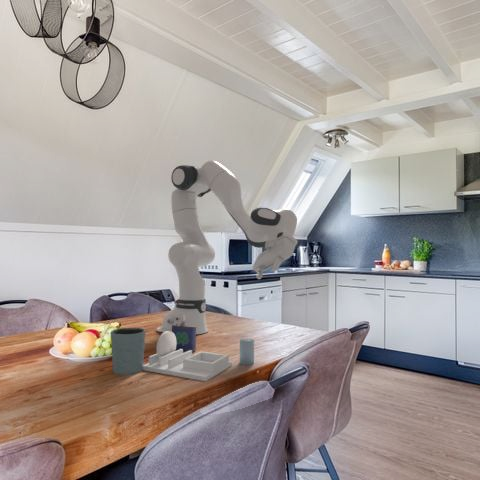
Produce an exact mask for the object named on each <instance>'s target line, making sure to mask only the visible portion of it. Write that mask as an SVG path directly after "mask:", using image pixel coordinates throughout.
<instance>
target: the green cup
mask: <svg viewBox="0 0 480 480" xmlns="http://www.w3.org/2000/svg"><path fill="white" fill-rule="evenodd" d="M145 341H146V329H145V328H142V327H122V328H116V329H113V330H111V331H110V343H111V345H110V346H111V355H112V356H111V357H112V359H111V360H112V372H113V373H114V374H116V375H118V376H119V375H122V376H128V375H134V374H135V375H136V374H138V373H141V372H143V371H144V370H143V365H144V358H145V357H144V356H145V353H144V352H145V345H146V344H145V343H146V342H145Z"/></svg>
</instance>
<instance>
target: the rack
mask: <svg viewBox="0 0 480 480" xmlns="http://www.w3.org/2000/svg"><path fill="white" fill-rule="evenodd" d="M176 343H177V342H176V336H175V334H174V333H173V332H171V331H165V332H161V334H160V336H159V337H158V339H157V342H156V346H155V347H156V348H155V350H156V353H155V354H151V355H149V356H148V363H146V364H143V370H142V371H147V372H151V373H157V374H164V375H168V376H174V377H179V378H185V379H191V380H196V381H202V382H207V381H209V380H211V379H212V378H214V377H215V376H217V375H219V374H220V373H222V372H224V371H225V370H227V369H229V368H230V367H232V364H233V363H232V361H231V360H230V361H229V359H230V357H229V356H230V355H229V354H222V353H216V352H209V351H208V352H207V351H202V350H201V351H198V352H195V353H194V354H193V352H192V350H189V351H187V352H183V349H179V350H177V351H175V350H176Z"/></svg>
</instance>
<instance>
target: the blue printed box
mask: <svg viewBox="0 0 480 480" xmlns="http://www.w3.org/2000/svg"><path fill="white" fill-rule="evenodd" d="M181 322H182V323H181V324H180V325H179V324H178V323H177V324H174V325H172V332H173V333H174V334H175V336H176V342H177V343H176V350H175V351H177V350H179V349H183V353H185V352H187V351H189V350H192V353H196V351H197V348H196V347H197V345H196V344H197V334H196V326H189V325H185V324H186V323H185V322H186V321H181Z"/></svg>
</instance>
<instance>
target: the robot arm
mask: <svg viewBox="0 0 480 480" xmlns="http://www.w3.org/2000/svg"><path fill="white" fill-rule="evenodd" d="M170 180H171V183H172V185H173V186H174V187H175V189H174V190H173V191H172V193H171V210H172V211H171V212H172V217H173V218H172V219H173V224H174V229H175V232H176V233H177V234H178V235H179V236H180V238H181V240H182V241H181V242H177V243H174V244H172V245H171V246H170V248H169V249H168V253H167V255H168V260H169V262H170V264H171V265H172V266H173V267H174V268H175V270H176V274H177V279H178V285H179V286H178V287H179V290H178V295H179V296H178V299H177V300H174V301H173V304H175V307H174V308H173V309H171V310H170V311H169V312H168V313H167V314H165V315H164V316H163V317H162V318H163V319H162V323H161V326H159V327H157V328H156V332H160V333H163V332H165V331H171V332H172V325H174V324H177V323H178V324H179V325H180V324H181V323H182V322H181V321H186V322H185V323H186V324H185V325H189V326H196V335H201V334H205V333H208V332H209V330H208V325H207V320H206V319H207V318H206V308H207V307H206V305H207V304H206V303H207V302H206V300H207V299H206V298H205V297H206V296H205V293H206V292H205V291H206V290H205V289H206V288H205V286H206V282H205V279H204V278H203V277H202V275H201V273H200V269H199V267H200V268H201V267H206V266H208V265H210V264H212V262H214V260H215V256H216V252H215V249H214V247H213V246H212V245H211V244H210V243H209V242H208V240H207V238H206V236H205V233H204V231H203V229H202V227H201V223H200V217H199V211H198V208H197V197H198V198H202V197H203V196H205V195H206V194H208V193H210V192H212V193H214V195H215V196H216V197H217V199H218V200H219V201H220V202H221V204H222V205H223V207H224V208H225V210H226V211H227V213H228V215H229V216H230V217H231V218H232V219H233V221H234V222H235V223H236V224H237V226H239V228H240V230H241V231H242V232H243V233H244V236H245V238H246V241H247V243H248V244H249V245H250V246H252V247H254V248H265V250H264V251H262V252H261V253H259V254H258V255H257V257H256V258H255V261H254V263H253V265H252V267H251V268H252V270H253V271H254V272H256V276H255V277H256V279H257V280H261V279H262V278H263V276H264V274H263V273H264V272H265V271H267V270H269V269H270V270H272V271H273V272H276V271H278V270H279V267H280V266H281V265H282V263H283V262H284V261H286V260H288V259H290V258H291V257H292V255H293V254H294V252H295V249H296V246H297V245H298V243H299V242H298V241H299V240H298V239H296V238H295V237H294V235H295V232H296V230H297V226H298V225H297V224H298V217H297V216H296V214H295V212H294V211H293V210H291V209H288V208H281V209H272V208H269V207H265V206H264V207H263V206H261V207H256V208H255V209H252V211H251V213H250V214H249V213H248V211H247V210H246V208H245V207H244V204H243V200H242V188H241V184H240V182H239V179H238V178H237V177H236V176H235V174H233V173H232V172H231V171H230V170H229V169H228V168H227V167H225V166H224V165H223V164H221V163H220V162H218V161H216V160H208V161H205V162H204V164H203V165H202V166H201V167H199V166H194V165H187V164H186V165H185V164H183V165H177V166H176V167H175V168H174V169H173V170H172V173H171V177H170Z"/></svg>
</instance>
